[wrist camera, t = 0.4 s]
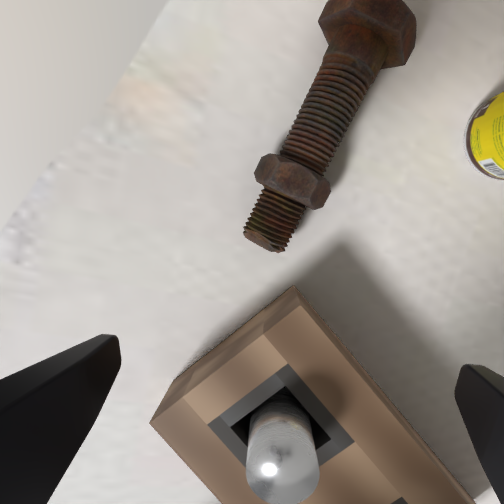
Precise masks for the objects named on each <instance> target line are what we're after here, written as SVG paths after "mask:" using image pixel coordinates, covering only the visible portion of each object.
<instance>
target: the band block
mask: <svg viewBox="0 0 504 504" xmlns="http://www.w3.org/2000/svg"><path fill="white" fill-rule="evenodd" d="M284 386H286V387H287V388H288V389H289V390H290V391H291V392H292V394H293V395H294V396H295V397H296V398H297V399H298V401H299V402H300V403H301V404H302V405H303V406H304V408H305V409H306V410H307V411H308V414H309V419H310V424H311V429H312V435H313V440H314V445H315V450H316V455H317V460H318V465H319V472H320V476H319V482H318V485H317V487H316V489H315V490H314V492H313V493H312V494H311V495H310V496H309V497H308V498H307V499H306V500H304V501H302V502H300V503H298V504H476V503H475V501H474V500H473V499H472V498H471V497H470V495H469V494H468V493H467V492H466V491H465V489H464V488H463V487H462V486H461V485H460V483H459V482H458V481H457V480H456V479H455V477H454V476H453V475H452V474H451V473H450V471H449V470H448V469H447V468H446V467H445V465H444V464H443V463H442V462H441V461H440V459H439V458H438V457H437V456H436V455H435V453H434V452H433V451H432V450H431V449H430V447H429V446H428V445H427V444H426V443H425V442H424V440H423V439H422V438H421V437H420V436H419V434H418V433H417V432H416V431H415V430H414V428H413V427H412V426H411V425H410V424H409V422H408V421H407V420H406V419H405V418H404V416H403V415H402V414H401V413H400V412H399V410H398V409H397V408H396V407H395V406H394V404H393V403H392V402H391V401H390V400H389V398H388V397H387V396H386V395H385V394H384V392H383V391H382V390H381V389H380V388H379V386H378V385H377V384H376V383H375V382H374V381H373V379H372V378H371V377H370V376H369V375H368V373H367V372H366V371H365V370H364V369H363V367H362V366H361V365H360V364H359V363H358V361H357V360H356V359H355V358H354V357H353V355H352V354H351V353H350V352H349V351H348V349H347V348H346V347H345V346H344V345H343V343H342V342H341V341H340V340H339V339H338V337H337V336H336V335H335V334H334V333H333V331H332V330H331V329H330V328H329V327H328V325H327V324H326V323H325V322H324V321H323V320H322V318H321V317H320V316H319V315H318V314H317V312H316V311H315V310H314V309H313V308H312V306H311V305H310V304H309V303H308V302H307V300H306V299H305V298H304V297H303V296H302V294H301V293H300V292H299V291H298V290H297V288H296V287H295V286H294V285H293V286H292V287H291V288H289V289H288V290H287V291H286V292H284V293H283V294H282V295H281V296H279V297H278V298H277V299H276V300H274V301H273V302H272V303H271V304H269V305H268V306H267V307H265V308H264V309H263V310H262V311H260V312H259V313H258V314H257V315H255V316H254V317H253V318H252V319H250V320H249V321H248V322H247V323H245V324H244V325H243V326H242V327H240V328H239V329H238V330H237V331H235V332H234V333H233V334H231V335H230V336H229V337H228V338H226V339H225V340H224V341H223V342H221V343H220V344H219V345H218V346H216V347H215V348H214V349H213V350H211V351H210V352H209V353H208V354H206V355H205V356H204V357H203V358H201V359H200V360H199V361H198V362H196V363H195V364H194V365H192V366H191V367H190V368H189V369H187V370H186V371H185V372H184V373H182V374H181V375H180V376H179V377H177V378H176V379H175V380H174V381H173V382H172V384H171V385H170V387H169V389H168V391H167V392H166V394H165V396H164V398H163V400H162V401H161V403H160V405H159V407H158V408H157V410H156V412H155V414H154V415H153V417H152V419H151V421H150V423H149V424H150V425H151V426H152V427H153V428H154V429H155V430H156V431H157V432H158V434H159V435H160V436H161V437H162V438H163V439H164V440H165V441H166V442H167V443H168V445H169V446H170V447H171V448H172V449H173V450H174V451H175V452H176V453H177V454H178V456H179V457H180V458H181V459H182V460H183V461H184V462H185V463H186V464H187V466H188V467H189V468H190V469H191V470H192V471H193V472H194V473H195V474H196V475H197V477H198V478H199V479H200V480H201V481H202V482H203V483H204V484H205V485H206V486H207V488H208V489H209V490H210V491H211V492H212V493H213V494H214V495H215V496H216V498H217V499H218V500H219V501H220V502H221V503H222V504H270V503H268V502H265V501H264V500H262V499H261V498H259V497H258V496H257V495H256V494H255V493H254V492H253V491H252V489H251V488H250V486H249V484H248V481H247V478H246V462H247V451H248V440H249V428H250V417H251V411H252V410H254V409H255V408H256V407H258V406H259V405H260V404H262V403H263V402H264V401H266V400H267V399H268V398H270V397H271V396H272V395H274V394H275V393H276V392H278V391H279V390H280V389H282V388H283V387H284Z"/></svg>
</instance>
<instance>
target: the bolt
mask: <svg viewBox="0 0 504 504" xmlns="http://www.w3.org/2000/svg"><path fill="white" fill-rule="evenodd" d="M318 23H319V25H320V27H321V29H322V31H323V34H324V36H325V38H326V40H327V42H328V44H329V46H328V48H327V50H326V53H325V55H324V57H323V62H322V66H320V69H319V71H318V73H317V76H316V77H315V79H314V82H313V84H312V85H311V88H310V89H309V93H308V94H307V95H306V99H305V100H304V104H302V106H301V109H300V110H299V114H298V115H297V119H296V120H294V124H293V125H292V130H290V131H289V134H290V135H288V136H287V139H288V140H286V141H285V145H284V146H282V148H283V150H281V151H280V154H281V155H276V154H268V155H265V156H263V157H261V159H260V161H259V163H258V166H257V168H256V170H255V172H254V175H255V178H256V181H257V182H259V183H260V184H262V185H263V186H264V188H265V189H263V190H261V191H262V193H263V194H260V195H259V196H260V199H257V201H258V203H256V204H255V206H256V207H255V208H253V209H252V210H253V211H254V212H252V213H250V215H251V217H249V218H248V220H249V222H246V225H247V226H244V227H243V228H244V230H245V231H244V232H243V234H244V236H245V238H247V239H249V240H250V241H252V242H254V243H256V244H257V245H259V246H261V247H263V248H265V249H266V250H268V251H271V252H277V253H280V252H283V251H285V248H284V247H287V243H288V242H290V241H289V238H292V236H291V233H294V230H293V229H296V225H295V224H299V222H298V220H299V219H301V216H300V215H303V211H302V210H306V208H305V206H306V207H309V208H311V209H313V210H316V209H319V208H322V207H323V206H324V204H325V202H326V200H327V198H328V196H329V194H330V192H331V189H330V184H329V182H328V181H327V180H326V179H325V178H323V177H322V176H324V175H323V173H322V172H325V171H326V169H325V167H328V166H329V165H328V163H327V162H331V159H330V157H334V154H333V152H336V151H337V150H336V148H335V147H339V143H338V142H341V141H342V138H341V137H344V132H346V131H347V128H346V127H348V126H349V122H351V121H352V117H353V116H354V115H355V112H356V111H357V109H358V106H360V104H361V101H362V100H363V98H364V95H366V92H367V90H368V88H369V87H370V85H371V84H372V83H373V82H374V80H375V78H376V76H377V74H378V72H379V71H380V69H385V68H391V67H397V66H403V65H405V64H406V62H407V60H408V58H409V56H410V54H411V53H412V51H413V49H414V46H415V40H416V18H415V16H414V14H413V13H412V11H411V10H410V9H409V7H408V6H407V5H406V4H405V3H404V2H403V1H402V0H329V1H328V2H327V3H326V5H325V7H324V9H323V11H322V14H321V16H320V18H319V20H318Z"/></svg>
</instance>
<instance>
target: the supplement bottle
mask: <svg viewBox="0 0 504 504" xmlns="http://www.w3.org/2000/svg"><path fill="white" fill-rule="evenodd" d="M464 150H465V154H466V157H467V159H468V161H469V162H470V164H471V165H472V166H473V168H474V169H476V170H477V171H478V172H479V173H481V174H482V175H484V176H486V177H489V178H492V179H498V180H504V92H502V93H500V94H498V95H496V96H494V97H493V98H491V99H489V100H488V101H486V102H485V103H483V104H482V105H481V106H480V107H479V108H478V109H477V110H476V111H475V112H474V114H473V115H472V117H471V118H470V120H469V122H468V124H467V126H466V129H465V133H464Z"/></svg>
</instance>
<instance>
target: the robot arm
mask: <svg viewBox="0 0 504 504" xmlns="http://www.w3.org/2000/svg"><path fill="white" fill-rule="evenodd" d="M120 367H121V354H120V346H119V340H118V337H117V336H116V335H109V334H101V335H98V336H96V337H94V338H92V339H89V340H87V341H85V342H83V343H81V344H78V345H76V346H74V347H72V348H69V349H67V350H65V351H63V352H61V353H58V354H56V355H54V356H52V357H49V358H47V359H45V360H43V361H41V362H38V363H36V364H34V365H32V366H29V367H27V368H25V369H23V370H21V371H18V372H16V373H14V374H12V375H9V376H7V377H5V378H3V379H1V380H0V504H47V502H48V501H49V499H50V497H51V496H52V494H53V492H54V491H55V489H56V487H57V485H58V484H59V482H60V480H61V479H62V477H63V475H64V474H65V472H66V470H67V469H68V467H69V465H70V463H71V462H72V460H73V458H74V457H75V455H76V453H77V452H78V450H79V448H80V447H81V445H82V443H83V442H84V440H85V438H86V436H87V435H88V433H89V431H90V430H91V428H92V426H93V424H94V423H95V421H96V419H97V417H98V415H99V413H100V411H101V408H102V406H103V404H104V402H105V400H106V398H107V396H108V393H109V391H110V389H111V387H112V385H113V383H114V381H115V378H116V376H117V374H118V372H119V370H120ZM455 399H456V402H457V405H458V408H459V410H460V413H461V415H462V418H463V420H464V423H465V425H466V428H467V430H468V433H469V436H470V438H471V441H472V443H473V446H474V448H475V451H476V453H477V456H478V458H479V460H480V463H481V465H482V467H483V469H484V471H485V473H486V475H487V477H488V479H489V481H490V483H491V485H492V487H493V489H494V491H495V493H496V495H497V497H498V499H499V501H500V503H501V504H504V377H502V376H501V375H499V374H497V373H495V372H494V371H492V370H490V369H488V368H486V367H485V366H482V365H473V364H465V365H463V366H462V367H461V370H460V373H459V377H458V380H457V384H456V387H455Z"/></svg>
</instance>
